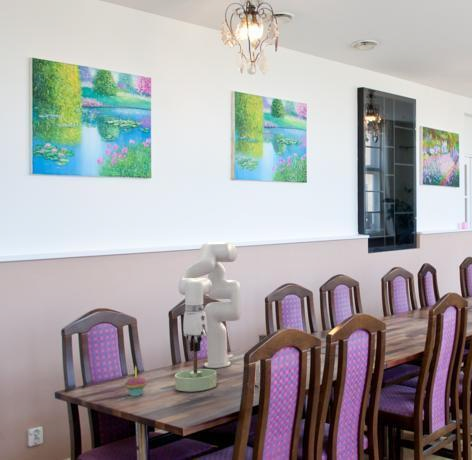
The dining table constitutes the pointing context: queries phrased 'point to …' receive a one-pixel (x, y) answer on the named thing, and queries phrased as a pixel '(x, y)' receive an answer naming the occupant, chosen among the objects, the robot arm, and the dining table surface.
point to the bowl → (195, 380)
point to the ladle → (195, 365)
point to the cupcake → (135, 385)
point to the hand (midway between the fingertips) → (195, 350)
